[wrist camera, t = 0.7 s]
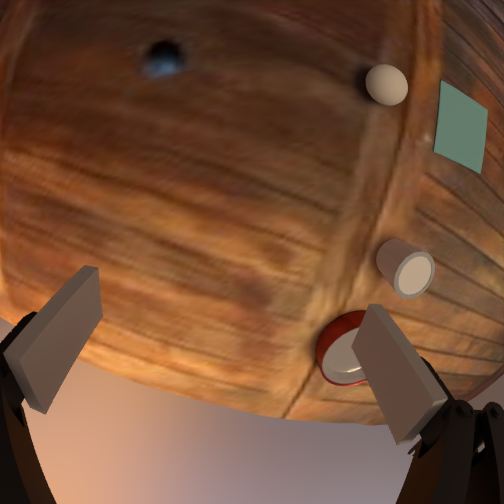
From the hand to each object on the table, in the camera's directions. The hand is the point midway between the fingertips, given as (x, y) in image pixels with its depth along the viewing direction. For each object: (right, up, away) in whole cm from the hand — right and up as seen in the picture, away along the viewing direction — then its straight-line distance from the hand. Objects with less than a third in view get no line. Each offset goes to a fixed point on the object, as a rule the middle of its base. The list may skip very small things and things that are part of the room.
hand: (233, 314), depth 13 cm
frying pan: (+26, -16, +34) cm, 46 cm away
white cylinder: (+22, +2, +26) cm, 34 cm away
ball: (+18, +23, +15) cm, 33 cm away
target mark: (+34, +22, +19) cm, 45 cm away
